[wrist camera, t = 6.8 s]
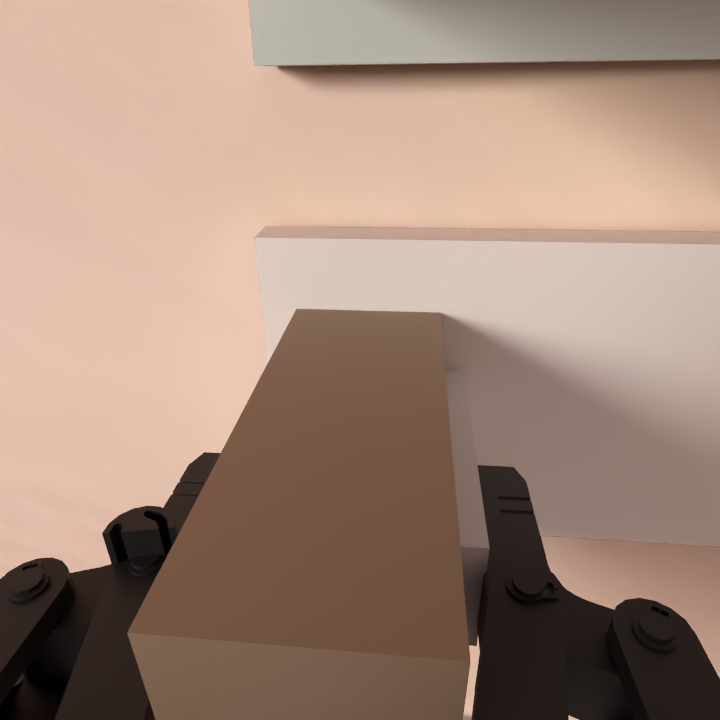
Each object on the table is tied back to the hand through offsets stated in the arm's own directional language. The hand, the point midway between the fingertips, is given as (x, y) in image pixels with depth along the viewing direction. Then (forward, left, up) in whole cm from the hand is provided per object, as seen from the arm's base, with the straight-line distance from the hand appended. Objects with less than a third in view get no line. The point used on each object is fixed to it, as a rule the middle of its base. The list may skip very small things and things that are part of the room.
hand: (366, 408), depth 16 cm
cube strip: (+11, 0, -2) cm, 11 cm away
